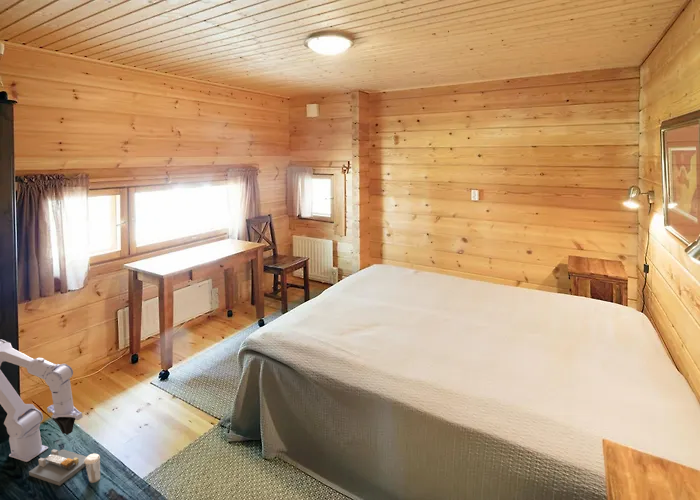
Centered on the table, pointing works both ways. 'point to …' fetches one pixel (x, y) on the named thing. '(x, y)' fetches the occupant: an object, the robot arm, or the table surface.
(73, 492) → the table surface
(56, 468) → the base board
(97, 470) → the milkshake
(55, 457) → the latch bar
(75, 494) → the table surface
